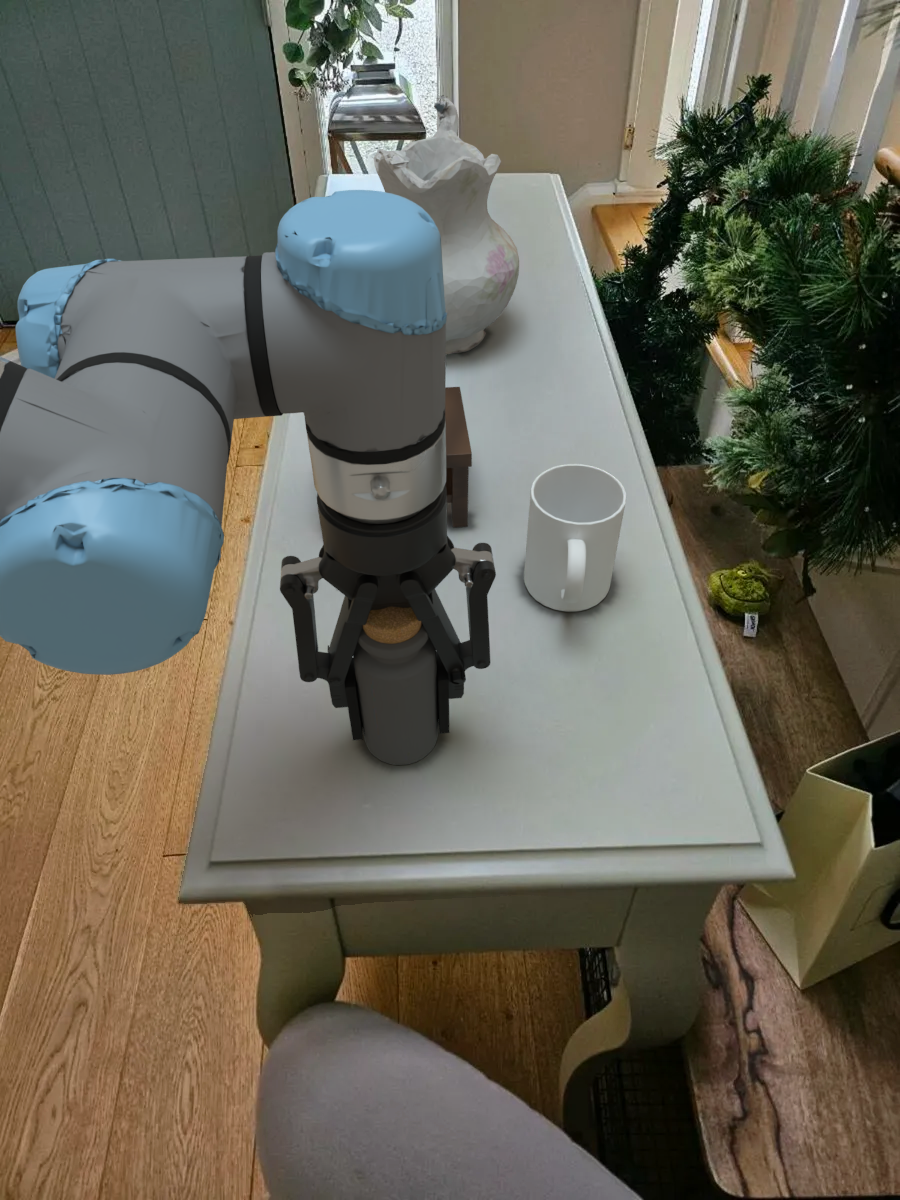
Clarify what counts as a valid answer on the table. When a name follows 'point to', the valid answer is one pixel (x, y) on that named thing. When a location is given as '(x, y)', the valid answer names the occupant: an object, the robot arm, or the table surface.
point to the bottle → (397, 686)
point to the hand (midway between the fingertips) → (400, 721)
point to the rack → (457, 457)
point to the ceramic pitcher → (457, 223)
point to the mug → (573, 536)
